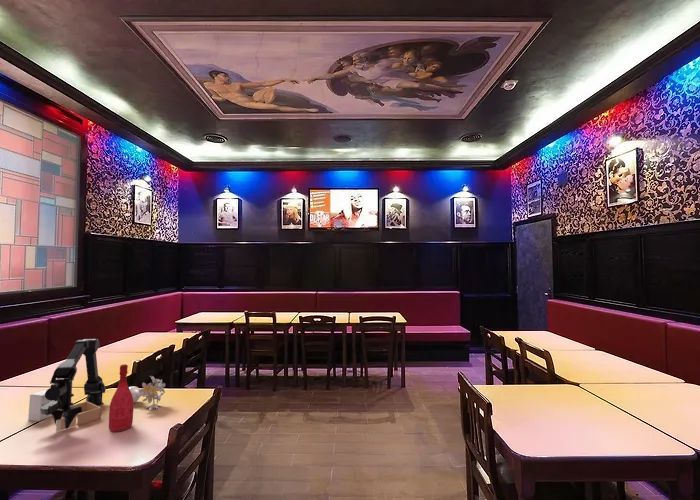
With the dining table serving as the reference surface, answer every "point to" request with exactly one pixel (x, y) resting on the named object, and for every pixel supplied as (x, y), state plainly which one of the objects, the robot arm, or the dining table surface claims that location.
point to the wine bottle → (121, 405)
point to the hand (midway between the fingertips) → (61, 427)
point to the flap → (61, 424)
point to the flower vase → (148, 392)
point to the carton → (87, 413)
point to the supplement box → (37, 406)
